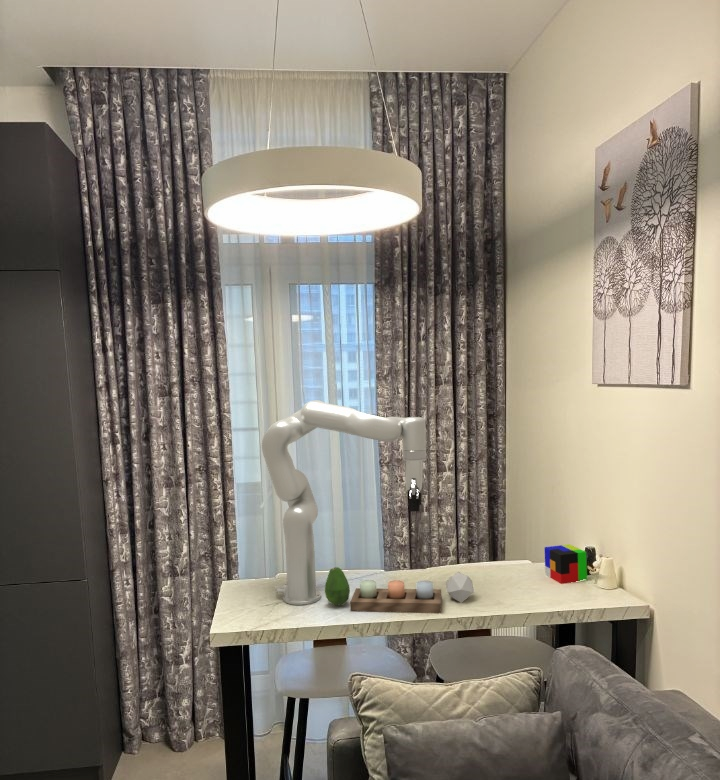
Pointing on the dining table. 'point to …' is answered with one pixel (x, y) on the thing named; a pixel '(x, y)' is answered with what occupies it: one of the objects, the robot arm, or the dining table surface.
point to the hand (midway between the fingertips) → (415, 507)
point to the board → (396, 602)
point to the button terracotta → (396, 589)
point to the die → (459, 586)
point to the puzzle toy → (565, 563)
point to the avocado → (337, 587)
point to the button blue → (424, 589)
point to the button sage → (368, 589)
